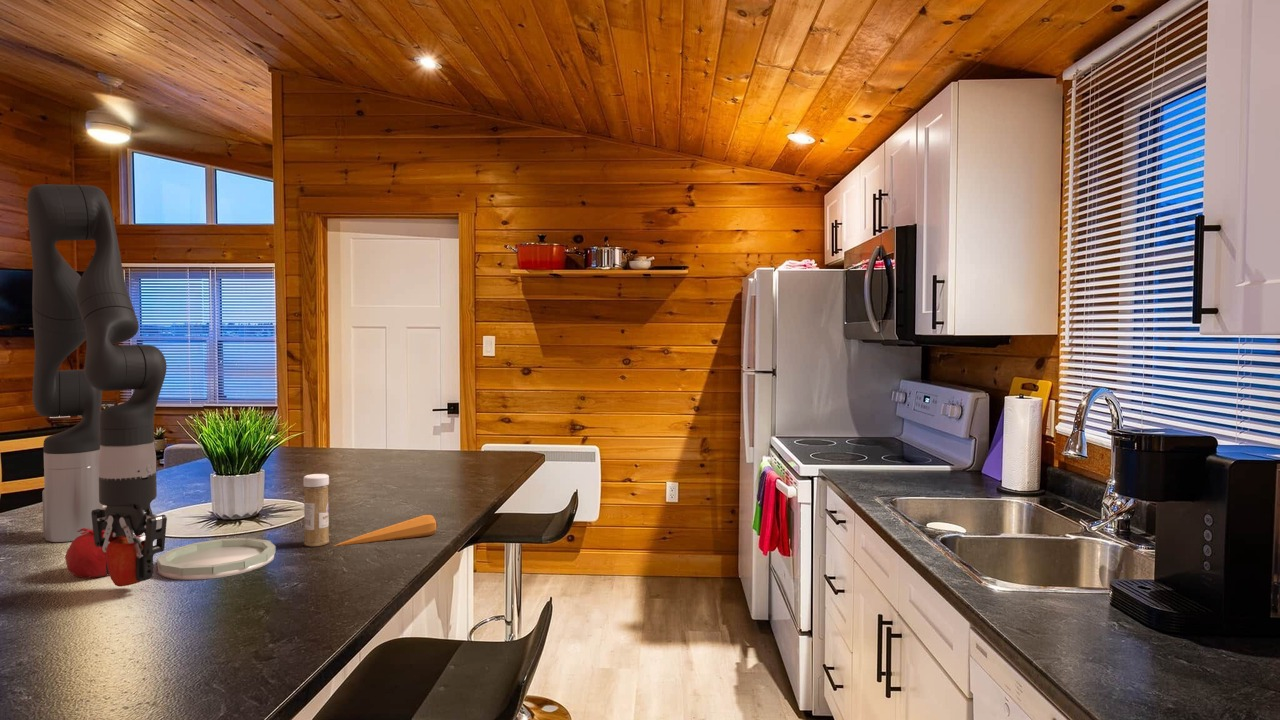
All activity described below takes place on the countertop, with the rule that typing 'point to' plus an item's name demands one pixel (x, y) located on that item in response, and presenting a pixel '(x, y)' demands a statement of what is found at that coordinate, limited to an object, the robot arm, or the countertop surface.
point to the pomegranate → (86, 556)
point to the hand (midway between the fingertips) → (129, 576)
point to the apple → (122, 562)
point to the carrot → (399, 531)
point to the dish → (215, 558)
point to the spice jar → (316, 509)
